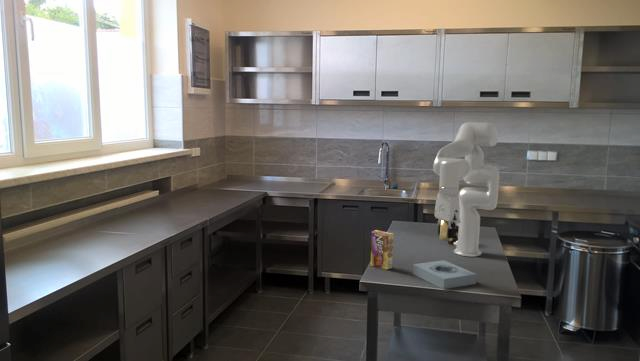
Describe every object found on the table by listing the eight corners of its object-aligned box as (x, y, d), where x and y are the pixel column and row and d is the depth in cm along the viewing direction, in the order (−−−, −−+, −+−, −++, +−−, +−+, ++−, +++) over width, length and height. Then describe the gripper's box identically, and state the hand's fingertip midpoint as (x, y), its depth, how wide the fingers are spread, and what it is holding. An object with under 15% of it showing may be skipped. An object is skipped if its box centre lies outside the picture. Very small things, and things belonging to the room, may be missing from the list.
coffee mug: (461, 241, 273) (462, 222, 272) (464, 246, 265) (465, 226, 263) (438, 240, 274) (439, 221, 273) (440, 244, 266) (441, 225, 264)
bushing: (436, 238, 212) (438, 218, 211) (446, 237, 214) (447, 218, 213) (444, 241, 208) (446, 221, 206) (455, 240, 210) (456, 220, 209)
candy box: (392, 268, 226) (394, 233, 223) (386, 270, 222) (388, 234, 220) (376, 263, 232) (377, 229, 229) (370, 265, 228) (371, 231, 226)
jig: (412, 273, 218) (412, 264, 218) (443, 269, 225) (444, 260, 225) (443, 289, 201) (443, 278, 200) (476, 283, 207) (476, 274, 207)
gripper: (427, 188, 214) (425, 232, 217) (455, 195, 199) (452, 242, 201) (442, 187, 217) (440, 231, 220) (470, 194, 202) (468, 240, 205)
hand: (446, 235), depth 211 cm, fingers closed on bushing, 5 cm apart
